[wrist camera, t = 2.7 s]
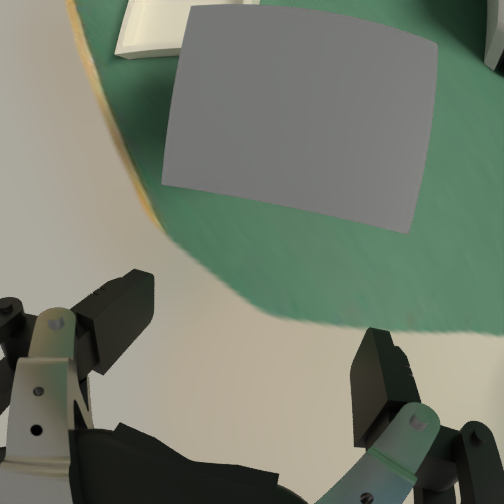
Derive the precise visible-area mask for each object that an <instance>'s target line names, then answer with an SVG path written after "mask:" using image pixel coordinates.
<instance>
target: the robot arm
mask: <svg viewBox="0 0 504 504" xmlns="http://www.w3.org/2000/svg"><path fill="white" fill-rule="evenodd" d="M153 314H154V276H153V274H151V273H148V272H144V271H141V270H137V269H133V270H131V271H130V272H129V273H127V274H126V275H125V276H123V277H122V278H121V277H120V278H116V279H114V280H111V281H108V282H107V283H105V284H104V285H102V286H101V287H100V289H97V290H95V291H94V292H93V294H90V295H89V296H87V297H86V298H85V299H83V300H82V301H81V302H79V303H78V304H76V305H75V306H74V307H72V308H71V309H70V310H68V309H65V308H59V307H58V308H50V309H47V310H45V311H43V312H42V313H41V314H40V315H39V316H35V315H31V314H26V313H24V309H23V305H22V302H21V301H20V300H19V299H17V298H14V297H6V298H2V299H0V345H1V348H2V350H3V353H4V355H5V357H4V358H3V359H2V360H0V415H1V414H2V413H3V411H4V410H5V409H6V408H7V407H8V406H9V405H10V410H9V417H8V429H7V443H6V447H0V504H308V503H307V502H306V501H305V500H304V499H302V498H301V497H300V496H299V495H297V494H295V493H294V492H292V491H291V490H289V489H287V488H285V487H283V486H281V485H278V484H277V483H278V477H279V474H278V473H272V472H267V471H262V470H258V469H253V468H249V467H245V466H240V465H230V464H216V463H204V462H196V461H192V460H189V459H187V458H185V457H184V456H182V455H181V454H179V453H177V452H176V451H174V450H173V449H171V448H170V447H168V446H167V445H165V444H164V443H162V442H161V441H159V440H158V439H156V438H155V437H152V436H150V435H147V434H145V433H143V432H140V431H138V430H136V429H134V428H131V427H129V426H127V425H125V424H123V423H119V424H118V426H117V427H116V429H115V430H114V431H112V430H106V429H94V425H93V420H92V411H91V399H90V385H89V377H88V374H89V373H90V372H91V370H94V371H96V372H97V373H100V374H102V375H104V374H105V373H106V372H107V371H108V370H109V369H110V367H111V366H112V365H113V364H114V363H115V362H116V361H117V359H118V358H119V357H120V356H121V355H122V354H123V353H124V352H125V350H126V349H127V348H128V347H129V346H130V345H131V344H132V343H133V341H134V340H135V339H136V338H137V337H138V336H139V335H140V334H141V333H142V331H143V330H144V329H145V328H146V327H147V326H148V325H149V323H150V322H151V320H152V317H153ZM412 375H413V374H412V371H411V368H410V365H409V362H408V359H407V356H406V355H405V354H404V352H403V351H402V350H401V349H400V348H399V347H398V346H394V344H393V341H392V338H391V335H390V332H389V331H386V330H381V329H376V328H371V327H370V328H368V329H367V331H366V333H365V335H364V338H363V340H362V342H361V344H360V347H359V349H358V351H357V353H356V356H355V358H354V360H353V363H352V366H351V370H350V383H351V396H352V413H353V434H354V447H361V448H366V453H365V454H364V455H363V456H362V458H360V459H359V461H358V462H357V463H356V464H355V465H354V466H353V467H352V468H351V469H350V470H349V471H348V472H347V473H346V474H345V475H344V476H343V477H342V478H341V479H340V480H339V481H338V482H337V483H336V484H335V485H334V486H333V487H332V488H331V489H330V490H329V491H328V492H327V493H326V494H325V495H323V497H321V498H320V499H319V500H318V501H317V502H316V503H314V504H402V503H403V501H404V500H405V498H406V497H407V495H408V494H409V492H410V491H411V489H412V488H413V490H414V504H456V496H455V489H454V484H455V483H456V482H458V481H459V488H460V495H461V504H504V470H503V466H502V463H501V459H500V455H499V452H498V449H497V445H496V442H495V439H494V436H493V434H492V432H491V431H490V429H489V428H488V427H487V426H485V425H484V424H483V423H481V422H478V421H470V422H467V423H466V424H465V425H464V426H463V427H462V428H461V430H460V431H458V430H454V429H451V428H448V427H445V426H442V425H440V420H439V417H438V415H437V414H436V413H435V411H434V410H433V409H431V408H430V407H429V406H427V405H425V404H422V403H421V400H420V396H419V393H418V390H417V387H416V383H415V380H414V377H413V376H412Z"/></svg>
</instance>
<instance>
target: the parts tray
mask: <svg viewBox="0 0 504 504" xmlns="http://www.w3.org/2000/svg"><path fill="white" fill-rule="evenodd" d="M213 4H257V5H259V4H260V0H129V2H128V5H127V9H126V12H125V15H124V19H123V22H122V26H121V30H120V34H119V38H118V42H117V46H116V50H115V55H118V56H120V57H123V58H126V59H128V60H130V59H140V58H151V57H165V56H180V51H181V47H182V42H183V37H184V33H185V29H186V24H187V20H188V16H189V12H190V8H191V6H195V5H213Z"/></svg>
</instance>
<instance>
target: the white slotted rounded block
mask: <svg viewBox="0 0 504 504" xmlns="http://www.w3.org/2000/svg"><path fill="white" fill-rule="evenodd" d="M502 61H503V69H502V72H504V0H487V33H486V46H485V57H484V64H485V65H486V66H488V67H489V68H490V69H492V70H493V71H494V69H495V68H497V69H499V67H500V65H501V63H502Z"/></svg>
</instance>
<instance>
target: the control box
mask: <svg viewBox="0 0 504 504" xmlns="http://www.w3.org/2000/svg"><path fill="white" fill-rule="evenodd" d="M437 60H438V43H435V42H433V41H430V40H428V39H425V38H422V37H420V36H417V35H414V34H411V33H408V32H405V31H402V30H399V29H396V28H393V27H390V26H386V25H383V24H379V23H375V22H372V21H368V20H364V19H360V18H355V17H351V16H346V15H341V14H336V13H331V12H325V11H319V10H312V9H304V8H296V7H287V6H275V5H257V4H213V5H195V6H191V8H190V12H189V16H188V20H187V24H186V29H185V33H184V37H183V42H182V47H181V51H180V56H179V61H178V66H177V72H176V77H175V83H174V88H173V94H172V101H171V107H170V114H169V121H168V128H167V135H166V143H165V152H164V161H163V171H162V182H161V185H168V186H174V187H181V188H187V189H194V190H200V191H206V192H212V193H218V194H223V195H229V196H235V197H240V198H246V199H251V200H256V201H261V202H267V203H272V204H277V205H282V206H287V207H292V208H297V209H301V210H306V211H311V212H315V213H320V214H324V215H329V216H333V217H338V218H342V219H347V220H351V221H355V222H359V223H364V224H368V225H372V226H376V227H380V228H384V229H388V230H392V231H396V232H400V233H404V234H407V235H408V234H409V230H410V227H411V223H412V219H413V216H414V212H415V208H416V204H417V200H418V195H419V191H420V187H421V182H422V177H423V173H424V168H425V162H426V157H427V151H428V146H429V139H430V133H431V126H432V119H433V110H434V101H435V91H436V78H437Z"/></svg>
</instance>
